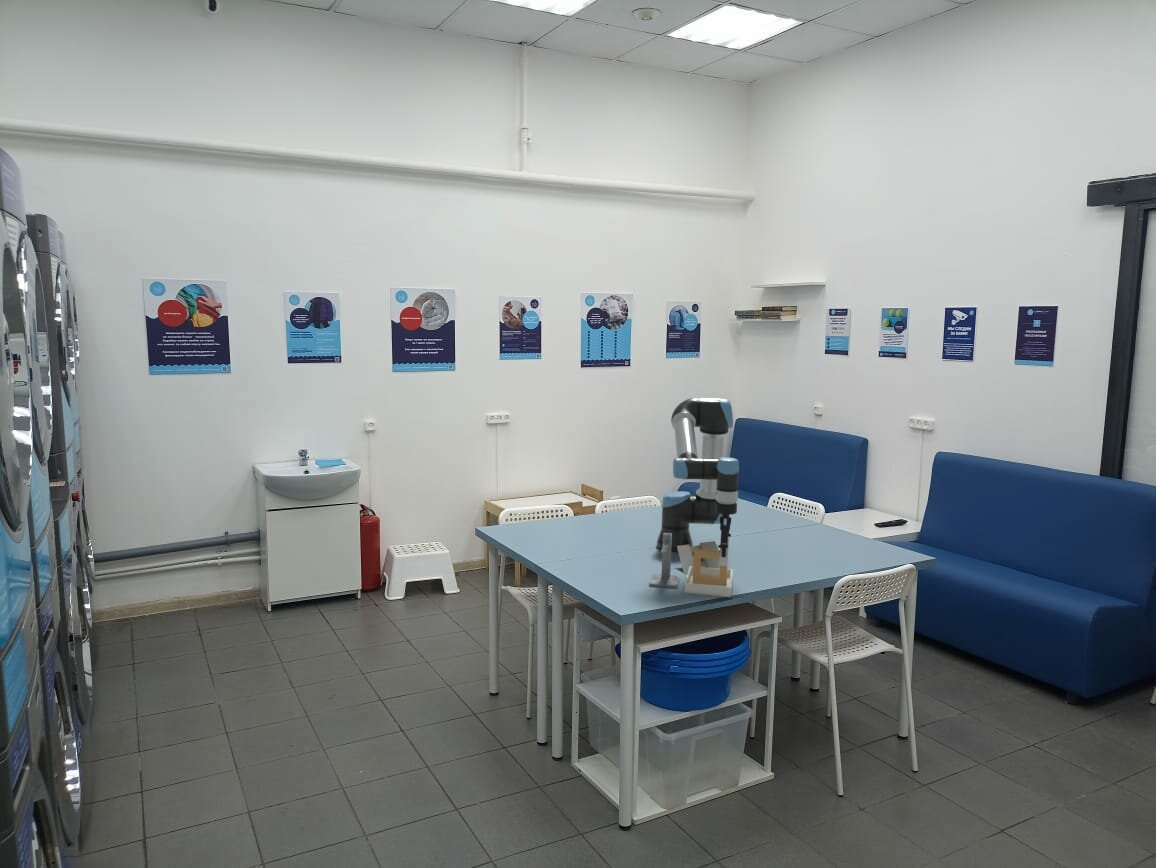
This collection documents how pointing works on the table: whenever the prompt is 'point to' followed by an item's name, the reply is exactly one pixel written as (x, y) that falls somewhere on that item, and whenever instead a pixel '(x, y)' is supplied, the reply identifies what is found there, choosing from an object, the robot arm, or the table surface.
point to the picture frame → (702, 578)
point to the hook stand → (665, 567)
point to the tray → (709, 589)
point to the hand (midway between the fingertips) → (723, 560)
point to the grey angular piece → (688, 553)
